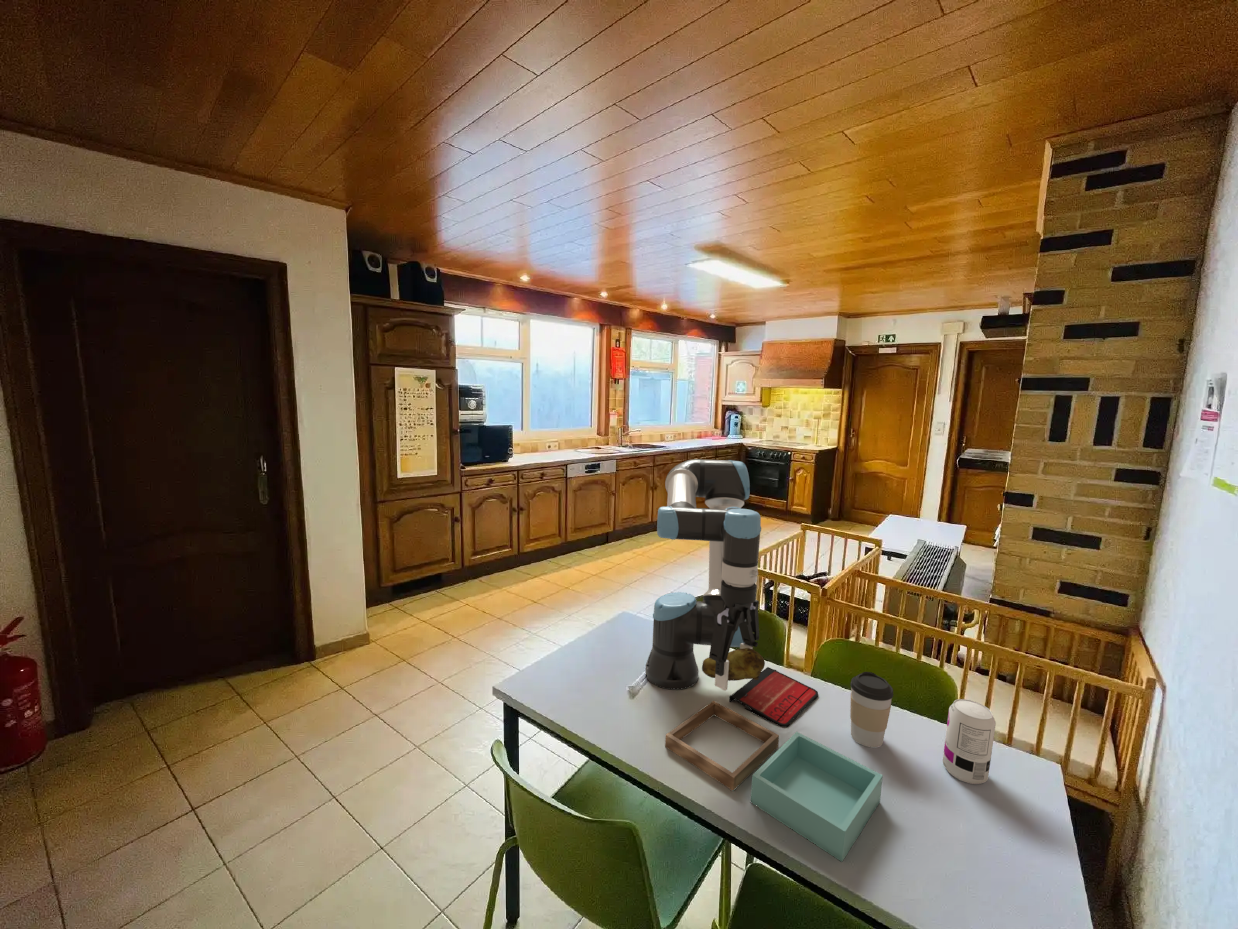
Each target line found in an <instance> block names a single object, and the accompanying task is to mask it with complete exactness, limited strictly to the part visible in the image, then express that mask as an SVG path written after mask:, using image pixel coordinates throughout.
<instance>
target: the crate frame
mask: <svg viewBox="0 0 1238 929" xmlns="http://www.w3.org/2000/svg"><path fill="white" fill-rule="evenodd" d="M713 716H715V717H717V718H719V719H720V720H723V721H724V722H726V723H728V724H730V725H731V726H733V727H735V728H737V729H739V730H741V731H742V732H745V733H746V734H748V735H750V736H752V737H754V738H755V739H757V740H759V741H761V742H763V744H762V745H761V746H760V747H758V748H757V749H756V750H755V751H754V752H753V753H752V754H751V755H750V756H749V757H748V758H746V760H744V762H742V763H741V764H740V765H739V766H738V767H736V769H735V770H733V771H730V770H729V769H727V768H725V767H724V766H722V765H721V764H720V763H718V762H716V761H714V760H713V759H712V758H710V757H709V756H706V755H704V754H703V753H702V752H700V751H698V750H697V749H695V748H694V747H692V746H691V745H689V744H687V743H686V742H684V741H682V739H684V738H685V737H687V736H688V735H689V734H690V733H692V732H693V731H695V730H696V729H697V728H698V727H700V726H701V725H702V724H704V723H705V722H707V721H708V720H709V719H711V718H712V717H713ZM779 740H780V734H778V733H776V732H774V731H772V730H770V729H768V728H767V727H765V726H763V725H761V724H759V723H757V722H755V721H754V720H752V719H750V718H748V717H746V716H744V715H742V714H740V713H738V712H736V711H734V710H732V709H730V708H729V707H727V706H724V705H723V704H721V703H719V702H717V701H716V700H712V701H711V702H709V703H708V704H707V705H705V706H703V707H702V708H701V709H699V710H698V711H697V712H696V713H694V714H693V715H691V716H690V717H688V718H686V719H685V720H684V721H683V722H681V723H680V724H678V725H677V726H676V727H674V728H673V729H671V730H670V731H669V732H667V733H666V734H665V740H664V741H665V743H664V746H665V748H667V749H668V750H670V751H671V752H673V753H674V754H676V755H677V756H679V757H680V758H681V759H683V760H685V761H686V762H687V763H690V764H691V765H692V766H694V767H695V768H697V769H699V770H700V771H701V772H703V773H705V774H706V775H708V776H709V777H711V778H712V779H713V780H716V781H717V782H718V783H720V784H722V786H725V787H726V788H727V789H729V790H731V791H732V790H734V789H735V788H736V787H737V788H738V787H739V786H740V785H741V784H742V783H743V782H744V781H745V780H746V779H747V778H749V776H750V775H752V773H753V772H755V770H756V769H757V768H759V767H760V766H761V764H762V763H764V761H765V760H767V759H769V758H770V757H771V756H772V755H773V754H774V753H775V751H777V750H778V748H779V746H780V745H779V743H780V741H779ZM738 785H739V786H738ZM737 788H736V789H737ZM734 791H735V790H734Z"/></svg>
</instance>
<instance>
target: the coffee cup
mask: <svg viewBox="0 0 1238 929" xmlns="http://www.w3.org/2000/svg"><path fill="white" fill-rule="evenodd" d="M849 684H850V689H851V691H850V710H849V711H850V715H849V716H850V718H849V719H850V736H851V738H852V739H853V740H854V741H855V742H856V743H857V744H860V745H861V746H864V747H868V748H880V747H881V746H882V745H883V744H884V739H885V734H886V730H887V727H888V723H889V718H890V712H891V708H892V699H893V697H894V688H893V687H892V686H891V684H889V682H888V681H887V680H886V679H885V678H883V677H881V676H879V675H877V674H876V673H874V672H871V671H863V672H861V673H859V674H857V675H856V676H853V677H852V678H851V681H850V683H849Z"/></svg>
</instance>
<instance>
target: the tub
mask: <svg viewBox="0 0 1238 929" xmlns="http://www.w3.org/2000/svg"><path fill="white" fill-rule="evenodd" d="M778 748H779V749H778ZM778 748H777V749H776V750H775V751H776V752H775V751H774V752H773V753H772V754H771V755H770V756H769V757H768V758H767V759H766V761H765V762H763V764H762V765H760V766H759V767H758V769H757V770H756V771H754V773H753V774H751V776H752V777H751V788H750V790H751V791H750V801H751V802H752V803H753V804H752V803H751V802H750V803H751V804H752V805H754V804H755V805H757V806H758V807H759V809H760V810H761V809H762V810H761V811H763V812H764V811H765V812H764V813H766V812H767V813H766V814H768V815H769V814H770V815H769V816H771V817H772V818H774V819H775V818H776V819H775V820H777V821H778V822H780V823H781V822H782V823H781V824H783V825H784V826H786V827H787V826H788V828H789V829H790V828H791V829H790V830H792V829H793V830H792V831H793V832H795V833H797V834H798V835H800V836H801V835H802V836H801V837H803V838H804V839H806V838H807V839H808V841H809V842H810V843H812V842H813V843H814V845H815V844H816V845H815V846H817V847H818V848H820V849H821V850H823V851H824V852H826V853H827V852H828V854H829V855H831V856H832V857H833V856H834V858H835V859H836V860H838V861H840V862H841V863H843V861H844V860H845V858H846V857H847V855H848V854H849V852H850V850H851V849H852V847H853V845H854V844H855V842H856V841H857V839H858V838H859V836H860V835H861V833H862V831H863V830H864V828H865V827H866V825H867V823H868V822H869V820H870V819H871V817H872V815H873V814H874V812H875V811H876V809H877V808H878V806H879V805H880V803H881V795H882V787H883V786H882V785H883V778H884V777H883V776H884V775H883V774H881V773H879V772H877V771H876V770H874V769H872V768H869V767H867V766H865V765H863V764H861V763H860V762H857V760H856V761H855V760H853V759H851V758H850V757H848V756H846V755H844V754H842V753H840V752H838V751H836V750H834V749H832V748H830V747H828V746H826V745H824V744H822V743H820V742H818V741H816V740H815V739H814V740H813V739H812V738H810V737H808V736H807V735H804V734H802V733H800V732H798V731H796V732H795V733H794V734H792V735H791V737H790V738H788V740H787V741H786V742H784V744H782V745H781V746H780V747H778ZM755 805H754V806H755ZM757 806H756V807H757ZM758 807H757V808H758ZM807 839H806V840H807ZM813 843H812V844H813Z"/></svg>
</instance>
